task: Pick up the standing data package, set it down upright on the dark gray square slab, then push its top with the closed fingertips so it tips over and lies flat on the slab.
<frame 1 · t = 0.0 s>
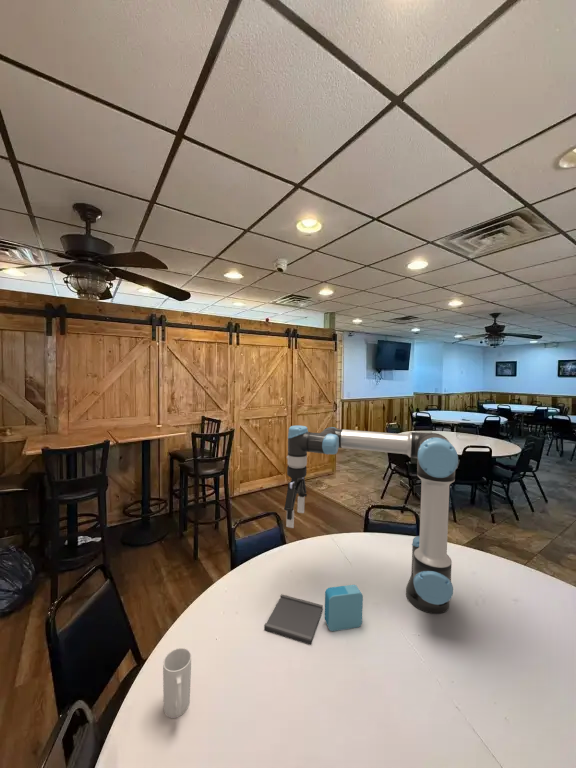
hand: (295, 519, 125), 28 cm above the table, fingers open, 13 cm apart
dark gray square slab: (294, 619, 110), on the table
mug: (177, 712, 80), on the table
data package: (342, 625, 109), on the table
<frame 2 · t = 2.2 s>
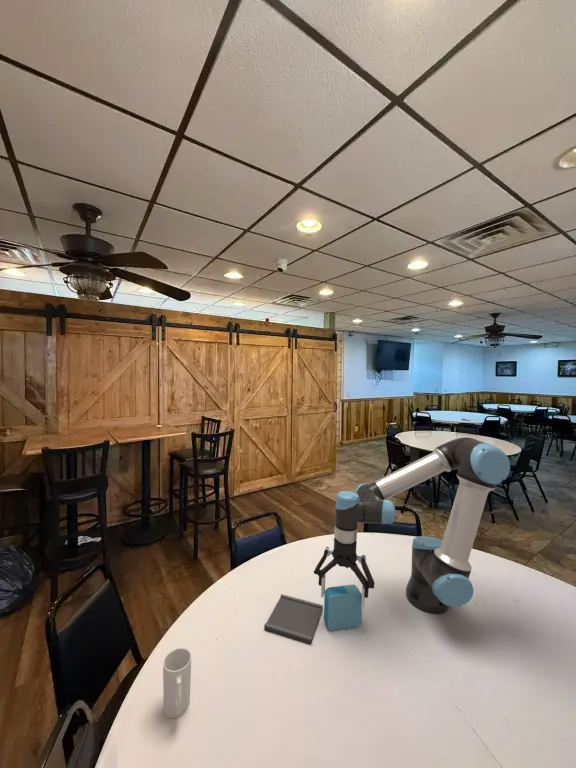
hand: (342, 600, 109), 8 cm above the table, fingers open, 13 cm apart
nothing on the table moved.
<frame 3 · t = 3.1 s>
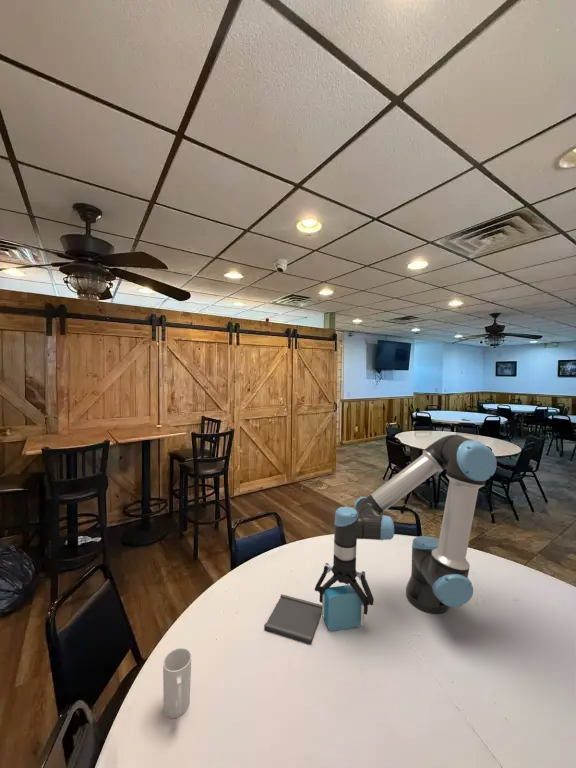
hand: (342, 616, 109), 3 cm above the table, fingers closed on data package, 12 cm apart
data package: (342, 624, 109), on the table, touching gripper
everything else where it was.
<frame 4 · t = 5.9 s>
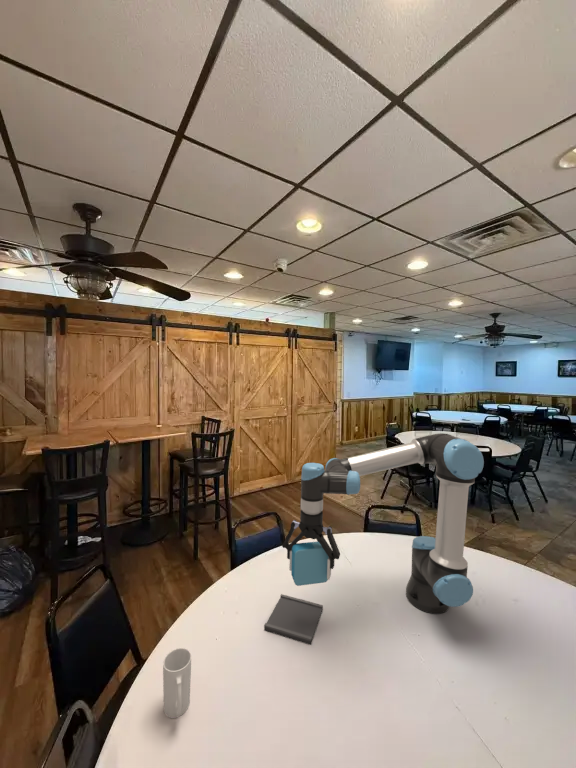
hand: (309, 572, 108), 18 cm above the table, fingers closed on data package, 12 cm apart
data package: (309, 580, 108), point 15 cm above the table, touching gripper
everything else where it was.
when the fingers open (5 cm above the table, at t = 8.8 s): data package stays where it is, resting on dark gray square slab.
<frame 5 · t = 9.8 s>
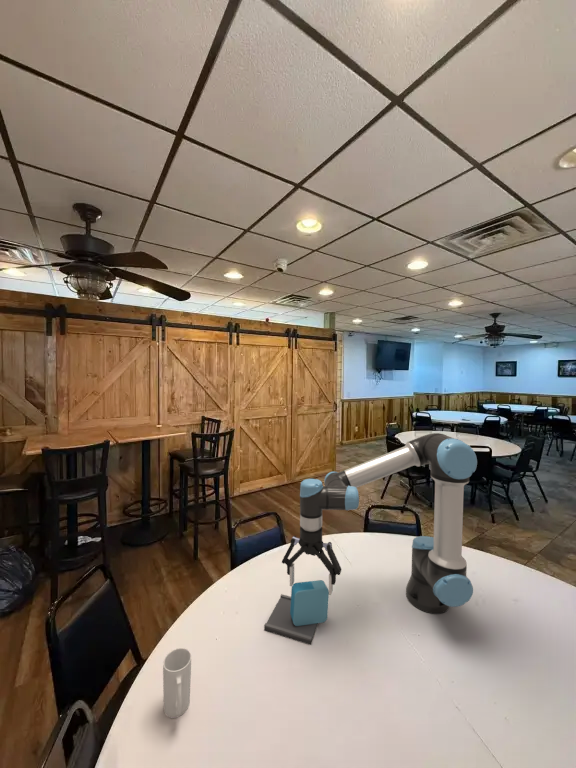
hand: (310, 588, 108), 12 cm above the table, fingers open, 13 cm apart
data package: (308, 620, 109), point 1 cm above the table, touching dark gray square slab, gripper
everything else where it was.
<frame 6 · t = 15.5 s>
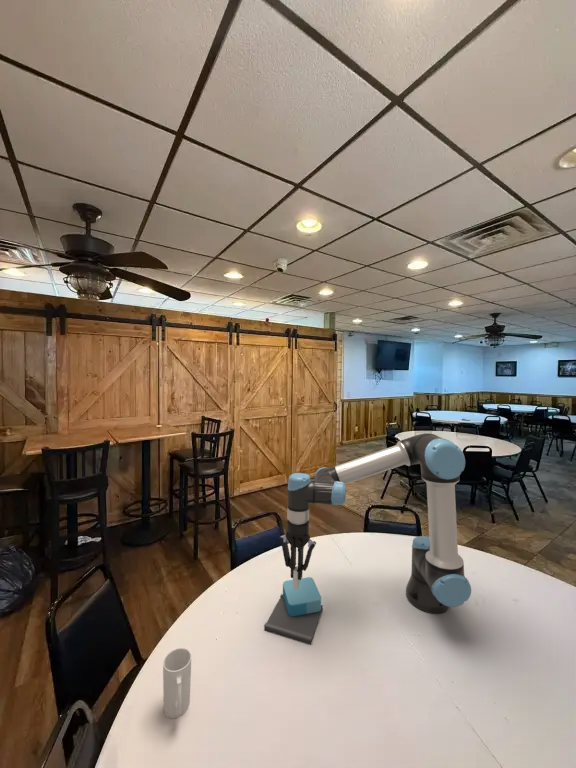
hand: (296, 587, 110), 12 cm above the table, fingers closed
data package: (306, 608, 111), point 4 cm above the table, touching dark gray square slab
everything else where it was.
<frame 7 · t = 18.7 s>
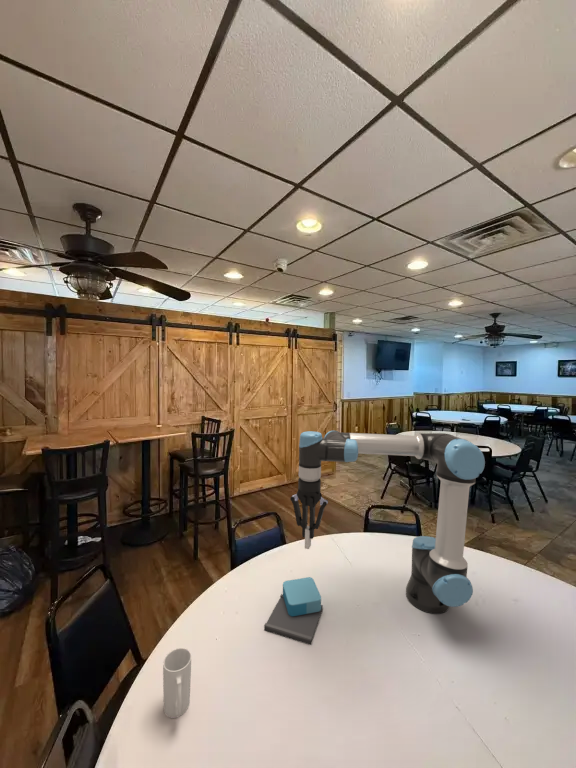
hand: (307, 546, 108), 26 cm above the table, fingers closed
nothing on the table moved.
at the end: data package tilted 86°; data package 3.9 cm from the dark gray square slab (horizontally); the gripper is holding nothing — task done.
